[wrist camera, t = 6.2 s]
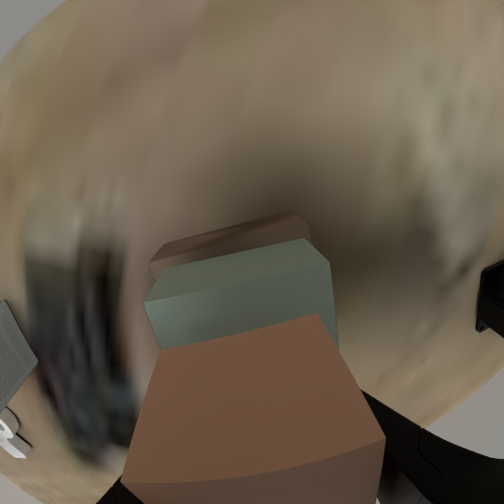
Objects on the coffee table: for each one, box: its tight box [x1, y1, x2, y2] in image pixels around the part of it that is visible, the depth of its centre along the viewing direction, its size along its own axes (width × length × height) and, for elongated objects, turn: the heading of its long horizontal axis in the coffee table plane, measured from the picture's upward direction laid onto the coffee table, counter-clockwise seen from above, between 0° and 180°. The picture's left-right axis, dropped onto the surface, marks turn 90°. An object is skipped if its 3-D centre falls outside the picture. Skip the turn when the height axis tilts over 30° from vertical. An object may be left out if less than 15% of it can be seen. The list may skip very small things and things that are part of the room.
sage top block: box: [143, 238, 339, 350], centre depth 14 cm, size 7×7×4 cm
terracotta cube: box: [120, 313, 386, 504], centre depth 7 cm, size 5×5×5 cm
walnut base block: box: [149, 211, 312, 282], centre depth 17 cm, size 8×8×4 cm
